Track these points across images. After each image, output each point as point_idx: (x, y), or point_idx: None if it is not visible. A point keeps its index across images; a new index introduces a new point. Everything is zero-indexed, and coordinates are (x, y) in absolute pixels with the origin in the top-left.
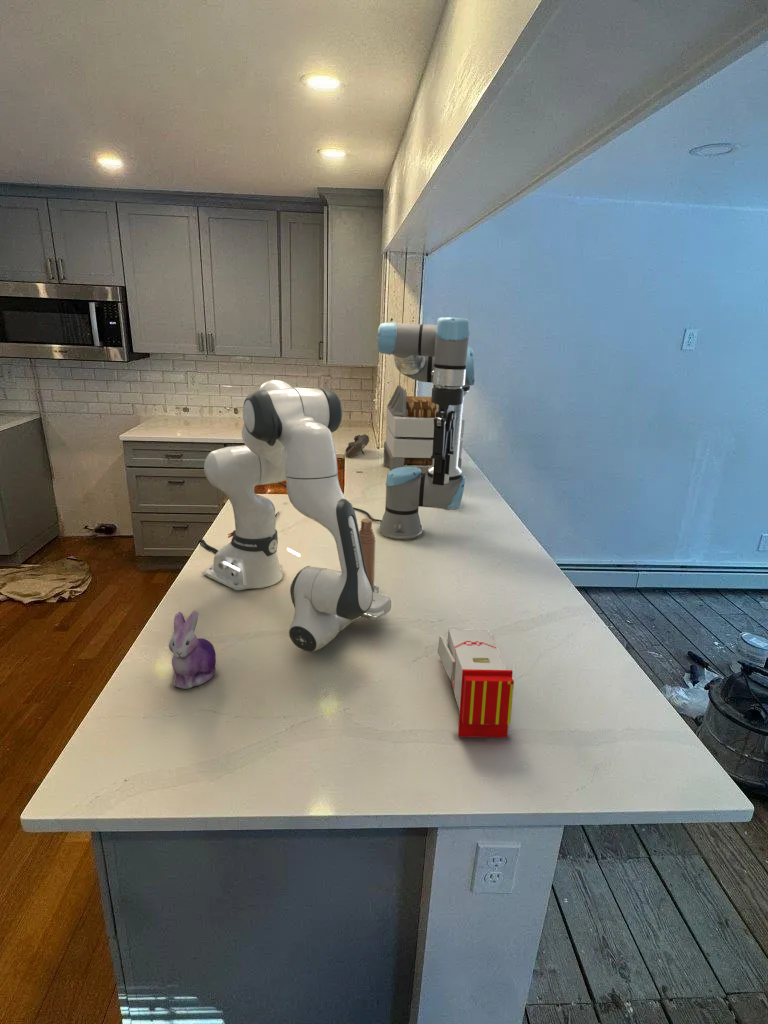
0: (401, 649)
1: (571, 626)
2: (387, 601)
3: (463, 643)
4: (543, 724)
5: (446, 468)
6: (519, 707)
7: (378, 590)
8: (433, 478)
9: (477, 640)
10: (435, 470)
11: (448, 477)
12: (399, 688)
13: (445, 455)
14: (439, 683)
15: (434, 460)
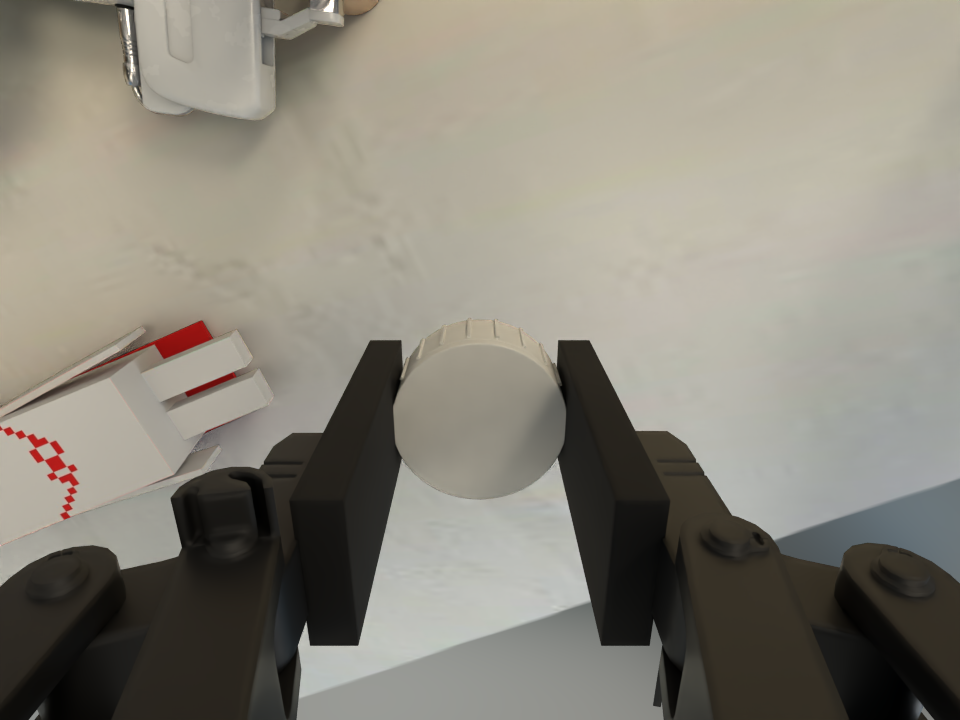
0: (188, 199)
1: (519, 569)
2: (217, 112)
3: (35, 439)
4: (116, 540)
5: (570, 492)
6: (138, 498)
7: (339, 25)
8: (360, 368)
9: (81, 467)
10: (278, 449)
11: (472, 491)
12: (29, 250)
13: (605, 588)
14: (110, 334)
15: (301, 481)
